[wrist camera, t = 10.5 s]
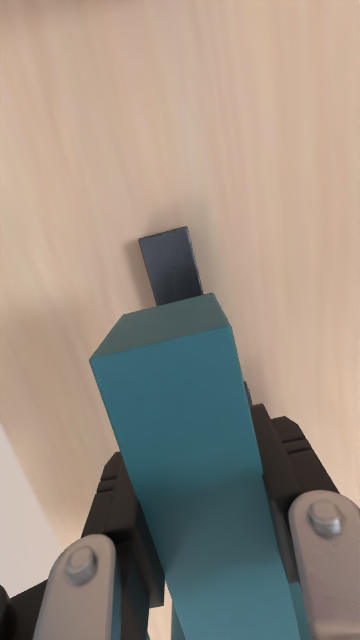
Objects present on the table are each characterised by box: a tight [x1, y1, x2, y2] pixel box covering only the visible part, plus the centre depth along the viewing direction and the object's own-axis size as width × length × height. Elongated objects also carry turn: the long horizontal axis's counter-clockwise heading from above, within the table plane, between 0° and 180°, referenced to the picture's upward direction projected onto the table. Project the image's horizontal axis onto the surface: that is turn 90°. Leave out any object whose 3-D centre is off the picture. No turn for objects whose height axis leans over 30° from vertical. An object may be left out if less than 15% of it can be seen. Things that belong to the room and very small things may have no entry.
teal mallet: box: [89, 293, 310, 640], centre depth 9 cm, size 14×5×4 cm, turn 14°
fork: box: [139, 226, 253, 406], centre depth 18 cm, size 16×5×1 cm, turn 14°
